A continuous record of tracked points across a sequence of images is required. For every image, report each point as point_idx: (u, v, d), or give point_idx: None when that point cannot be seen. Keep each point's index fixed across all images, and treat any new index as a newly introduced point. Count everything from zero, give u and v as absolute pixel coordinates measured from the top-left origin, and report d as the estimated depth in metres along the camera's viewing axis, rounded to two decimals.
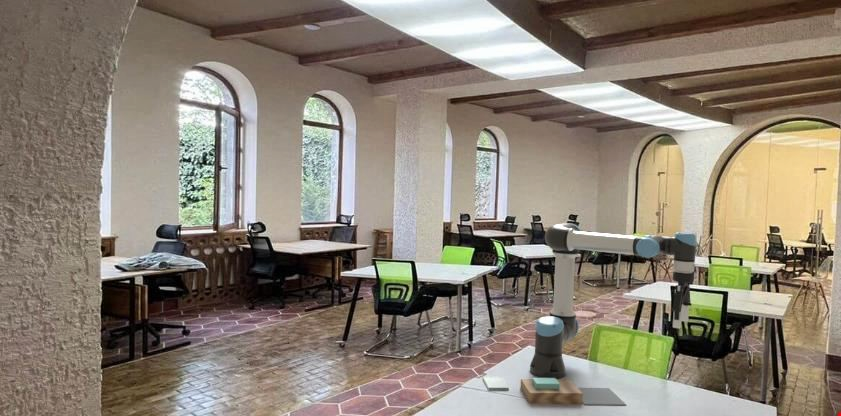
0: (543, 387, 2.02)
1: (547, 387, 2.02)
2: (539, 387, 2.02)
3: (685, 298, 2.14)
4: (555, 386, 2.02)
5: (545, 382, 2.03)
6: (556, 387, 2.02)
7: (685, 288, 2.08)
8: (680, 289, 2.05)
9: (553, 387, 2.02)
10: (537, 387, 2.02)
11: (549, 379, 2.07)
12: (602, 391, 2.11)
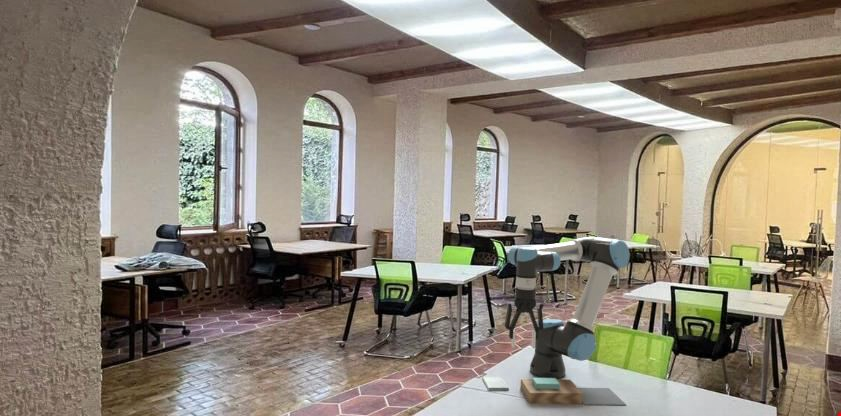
0: (543, 387, 2.02)
1: (547, 387, 2.02)
2: (539, 387, 2.02)
3: (532, 320, 2.03)
4: (555, 386, 2.02)
5: (545, 382, 2.03)
6: (556, 387, 2.02)
7: (520, 305, 2.02)
8: (508, 307, 2.02)
9: (553, 387, 2.02)
10: (537, 387, 2.02)
11: (549, 379, 2.07)
12: (602, 391, 2.11)
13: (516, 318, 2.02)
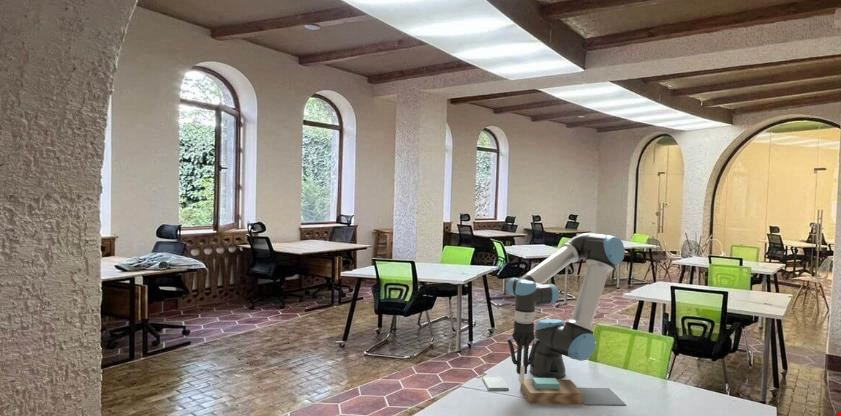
0: (543, 387, 2.02)
1: (547, 387, 2.02)
2: (539, 387, 2.02)
3: (524, 353, 2.04)
4: (555, 386, 2.02)
5: (545, 382, 2.03)
6: (556, 387, 2.02)
7: (519, 339, 2.02)
8: (508, 343, 2.03)
9: (553, 387, 2.02)
10: (537, 387, 2.02)
11: (549, 379, 2.07)
12: (602, 391, 2.11)
13: (519, 353, 2.03)
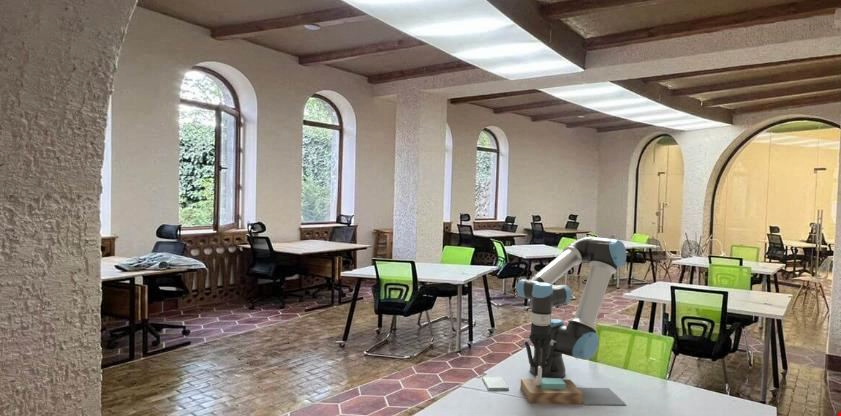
0: (549, 387, 2.02)
1: (553, 387, 2.02)
2: (545, 387, 2.02)
3: (541, 355, 2.04)
4: (562, 386, 2.02)
5: (551, 382, 2.03)
6: (562, 387, 2.02)
7: (536, 341, 2.03)
8: (526, 345, 2.04)
9: (559, 387, 2.02)
10: (543, 387, 2.02)
11: (555, 379, 2.07)
12: (602, 391, 2.11)
13: (537, 355, 2.03)
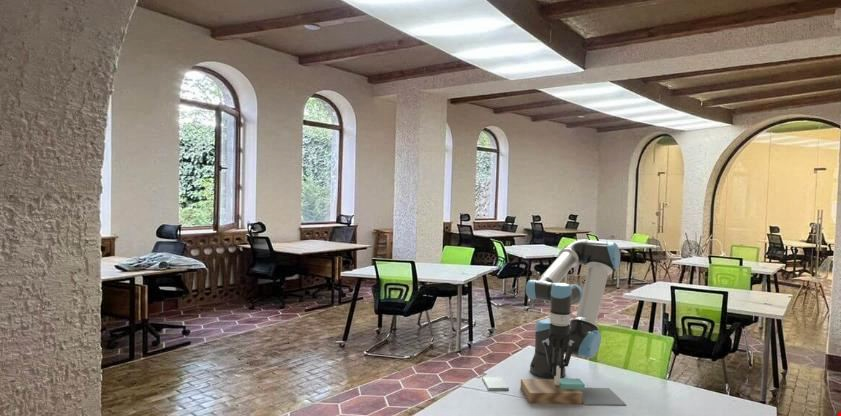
0: (568, 387, 2.02)
1: (572, 387, 2.03)
2: (564, 387, 2.02)
3: (560, 355, 2.05)
4: (580, 386, 2.03)
5: (570, 382, 2.04)
6: (581, 388, 2.03)
7: (555, 341, 2.03)
8: (544, 345, 2.04)
9: (578, 388, 2.03)
10: (562, 387, 2.02)
11: (574, 380, 2.07)
12: (602, 391, 2.11)
13: (555, 355, 2.04)
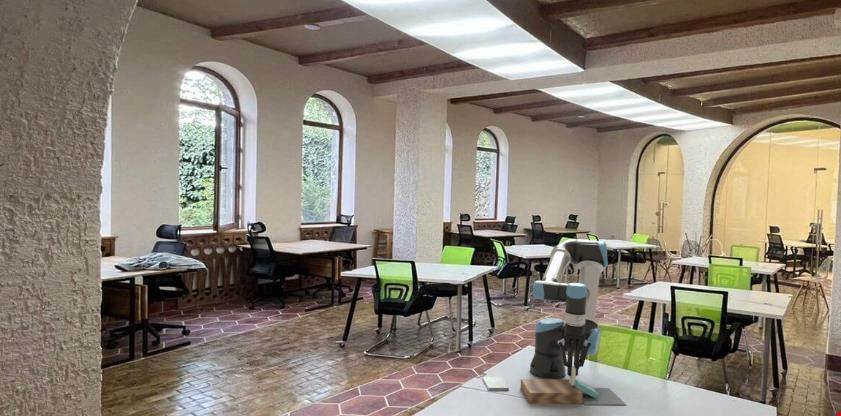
0: (583, 390, 2.03)
1: (586, 392, 2.03)
2: (579, 388, 2.03)
3: (575, 356, 2.05)
4: (594, 394, 2.03)
5: (586, 386, 2.04)
6: (594, 396, 2.03)
7: (570, 342, 2.04)
8: (559, 345, 2.04)
9: (592, 394, 2.03)
10: (577, 387, 2.03)
11: (589, 386, 2.07)
12: (602, 391, 2.11)
13: (571, 355, 2.04)
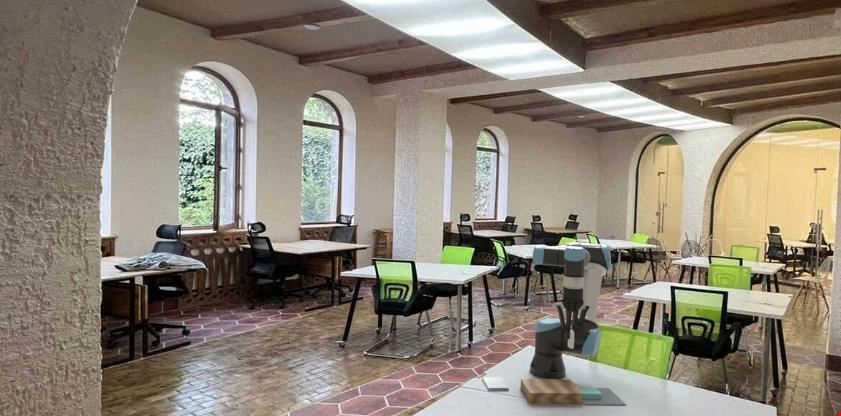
0: (586, 397, 2.03)
1: (589, 397, 2.03)
2: (582, 397, 2.03)
3: (573, 319, 2.05)
4: (598, 396, 2.03)
5: (587, 392, 2.04)
6: (598, 397, 2.03)
7: (568, 305, 2.03)
8: (558, 309, 2.04)
9: (595, 397, 2.03)
10: None
11: (591, 389, 2.07)
12: (602, 391, 2.11)
13: (569, 318, 2.03)
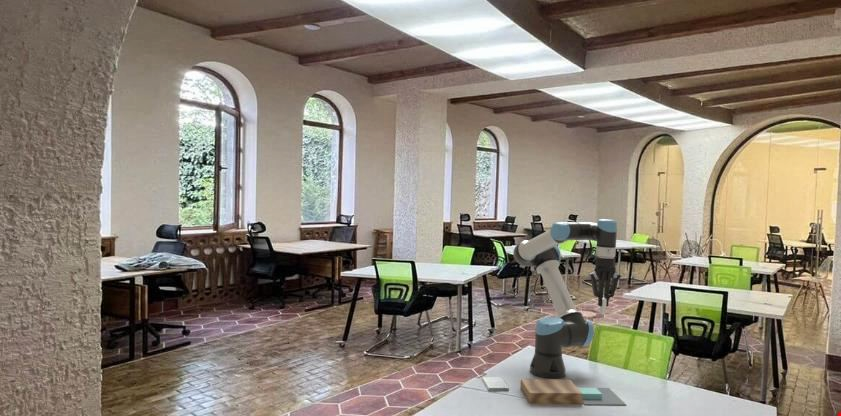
0: (586, 397, 2.03)
1: (589, 397, 2.03)
2: (582, 397, 2.03)
3: (606, 287, 2.18)
4: (598, 396, 2.03)
5: (587, 392, 2.04)
6: (598, 397, 2.03)
7: (601, 273, 2.16)
8: (591, 277, 2.17)
9: (595, 397, 2.03)
10: None
11: (591, 389, 2.07)
12: (602, 391, 2.11)
13: (602, 286, 2.17)
